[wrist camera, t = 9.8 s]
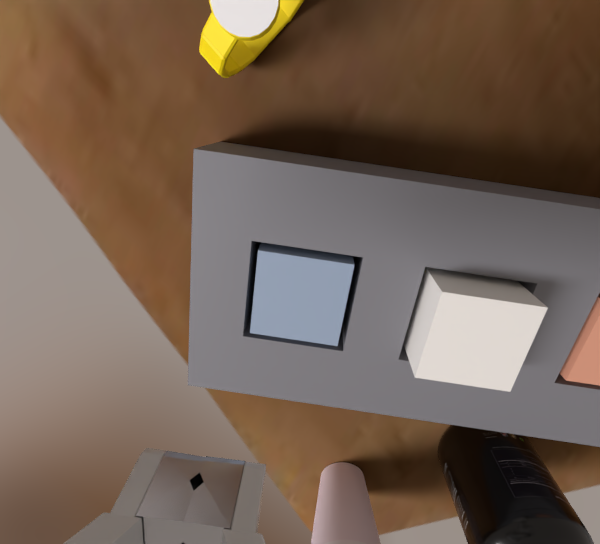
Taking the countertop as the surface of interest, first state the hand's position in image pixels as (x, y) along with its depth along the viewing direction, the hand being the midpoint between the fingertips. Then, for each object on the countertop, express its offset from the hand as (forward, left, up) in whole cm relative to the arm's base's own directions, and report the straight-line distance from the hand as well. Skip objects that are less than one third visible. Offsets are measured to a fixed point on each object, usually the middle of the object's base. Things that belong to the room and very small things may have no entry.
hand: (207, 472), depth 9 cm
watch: (-12, -2, -17) cm, 21 cm away
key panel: (+1, +11, -17) cm, 20 cm away
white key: (+1, +11, -14) cm, 18 cm away
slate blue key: (+1, +2, -16) cm, 16 cm away
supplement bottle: (+14, +18, -17) cm, 28 cm away
